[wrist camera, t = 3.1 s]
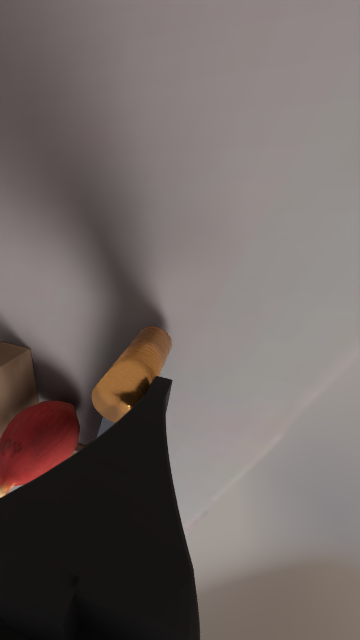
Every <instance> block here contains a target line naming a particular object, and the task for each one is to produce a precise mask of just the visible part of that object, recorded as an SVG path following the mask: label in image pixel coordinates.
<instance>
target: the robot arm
mask: <svg viewBox="0 0 360 640" xmlns="http://www.w3.org/2000/svg"><path fill="white" fill-rule="evenodd" d="M171 385H172V380H170V379H167V378H163V377H159V376H155V378H154V379H153V381H152V383H151V384H150V386H149V389H148V392H147V393H146V394H145V395H144V396H143V397H142V398H141V399H140V400H139V401H138V402H137V403H136V404H135V405H134V406H133V407H132V408H131V409H130V410H129V411H128V412H127V413H126V414H125V415H124V416H123V417H122V418H120V419H119V420H118V421H117V422H116V423H115V424H114V425H112V426H111V427H110V428H109V429H108V430H106V431H105V432H104V433H102V434H101V435H100V436H99V437H97V438H96V439H95V440H93V441H92V442H90V443H89V444H88V445H86V446H85V447H84V448H82V449H81V450H79V451H78V452H76V453H75V454H74V455H72V456H71V457H69V458H67V459H66V460H64V461H63V462H61V463H59V464H58V465H56V466H55V467H53V468H52V469H50V470H48V471H47V472H45V473H44V474H42V475H40V476H39V477H37V478H35V479H33V480H32V481H30V482H28V483H26V484H24V485H23V486H21V487H19V488H17V489H16V490H14V491H12V492H10V493H8V494H7V495H5V496H3V497H1V498H0V640H200V623H199V612H198V602H197V594H196V586H195V579H194V570H193V565H192V562H191V558H190V554H189V551H188V547H187V543H186V539H185V535H184V531H183V527H182V523H181V518H180V514H179V510H178V505H177V500H176V495H175V490H174V485H173V480H172V474H171V468H170V461H169V454H168V446H167V435H166V410H167V405H168V400H169V395H170V390H171Z"/></svg>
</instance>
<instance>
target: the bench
mask: <svg viewBox="0 0 360 640" xmlns="http://www.w3.org/2000/svg"><path fill="white" fill-rule="evenodd" d="M38 403H39V400H38V394H37V387H36V381H35V375H34V369H33V363H32V357H31V351H30V349H29V348H25V347H21V346H17V345H14V344H10V343H6V342H0V438H1V436H2V434H3V432H4V430H5V429H6V427H7V425H8V424H9V423H10V422H11V421H12V419H13V418H14V417H15V416H16V415H17V414H19V413H20V412H21V411H23V410H24V409H26V408H27V407H30V406H33V405H36V404H38ZM84 447H85V446H81V445H78V444H77V446H76V448H75V450H74V452H73V453H72V454H71V456H72V455H74V454H75V453H76V452H78V451H79V450H81V449H82V448H84ZM71 456H70V457H71Z"/></svg>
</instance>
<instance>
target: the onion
mask: <svg viewBox="0 0 360 640" xmlns="http://www.w3.org/2000/svg"><path fill="white" fill-rule="evenodd" d="M79 432H80V425H79V422H78V418H77V414H76V409H75V407H74V405H72V404H71V403H66V402H62V401H44V402H41V403H38V404H36V405H33V406H30V407H27V408H26V409H24V410H23V411H21V412H20V413H19V414H17V415H16V416H15V417H14V418H13V419H12V421H11V422H10V423H9V424H8V425H7V427H6V429H5V430H4V432H3V434H2V436H1V438H0V498H1V497H3V496H5V495H7V493H8V492H9V491H10V490H11V488H13V487H14V486H18V485H24V484H26V483H28V482H30V481H32V480H33V479H35V478H37V477H39V476H40V475H42V474H44V473H45V472H47V471H48V470H50V469H52V468H53V467H55V466H56V465H58V464H59V463H61V462H63V461H64V460H66V459H67V458H69V457H70V456H71V454H72V453H73V452H74V450H75V448H76V446H77V444H78V439H79Z"/></svg>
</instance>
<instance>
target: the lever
mask: <svg viewBox="0 0 360 640" xmlns="http://www.w3.org/2000/svg"><path fill="white" fill-rule="evenodd" d="M171 346H172V342H171V338H170V336H169V335H168V333H167V332H166V331H164V330H163V329H161V328H159V327H156V326H149V327H146V328H144V329H142V330H141V331H140V332H139V334H138V335H137V336H136V337H135V339H134V340H133V341H132V342H131V343H130V345H129V346H128V347H127V348H126V350H125V351H124V352H123V353H122V354H121V356H120V357H119V358H118V359H117V361H116V362H115V363H114V364H113V365H112V367H111V368H110V369H109V370H108V372H107V373H106V374H105V375H104V376H103V378H102V379H101V380H100V381H99V382H98V384H97V385H96V386H95V387H94V389H93V391H92V395H91V398H92V402H93V405H94V407H95V408H96V410H97V411H98V412H99V413H100V414H101V415H102V416H103V419H102V422H101V425H100V429H99V432H98V435H97V437H99V436H100V435H101V434H102V433H104V432H105V431H106V430H108V429H109V428H110V427H111V426H112V425H114V424H115V423H116V422H117V421H118V420H119V419H120V418H122V417H123V416H124V415H125V414H126V413H127V412H128V411H129V410H130V409H131V408H132V407H133V406H134V405H135V404H136V403H137V402H138V401H139V400H140V399H141V398H142V397H143V396H144V395H145V394H146V393H147V392H148V389H149V386H150V384H151V383H152V381H153V379H154V378H155V376H159V375H160V373H161V371H162V368H163V366H164V364H165V361H166V359H167V357H168V354H169V352H170V349H171Z"/></svg>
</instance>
